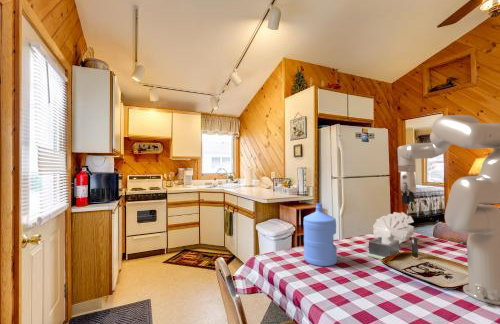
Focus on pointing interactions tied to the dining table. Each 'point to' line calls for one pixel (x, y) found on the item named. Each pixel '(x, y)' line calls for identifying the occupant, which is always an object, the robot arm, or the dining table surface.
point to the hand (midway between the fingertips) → (408, 202)
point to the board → (376, 256)
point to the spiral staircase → (393, 228)
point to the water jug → (319, 238)
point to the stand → (414, 247)
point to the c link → (383, 247)
